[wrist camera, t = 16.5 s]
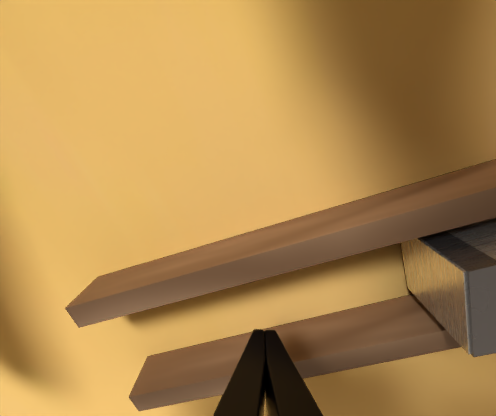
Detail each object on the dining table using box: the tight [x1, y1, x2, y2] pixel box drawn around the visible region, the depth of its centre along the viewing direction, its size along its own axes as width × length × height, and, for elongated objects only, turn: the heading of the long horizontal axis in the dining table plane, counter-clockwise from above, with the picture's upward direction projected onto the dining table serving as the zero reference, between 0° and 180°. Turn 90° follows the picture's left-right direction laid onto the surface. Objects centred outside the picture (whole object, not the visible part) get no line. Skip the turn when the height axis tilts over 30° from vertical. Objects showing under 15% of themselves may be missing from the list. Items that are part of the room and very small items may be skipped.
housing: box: [65, 159, 496, 411], centre depth 10 cm, size 7×30×6 cm, turn 109°
